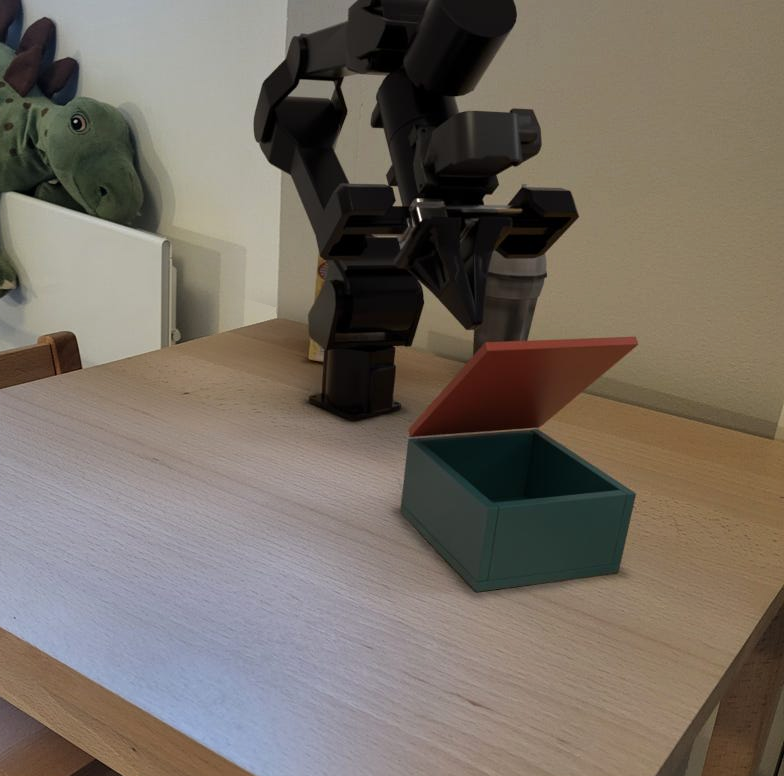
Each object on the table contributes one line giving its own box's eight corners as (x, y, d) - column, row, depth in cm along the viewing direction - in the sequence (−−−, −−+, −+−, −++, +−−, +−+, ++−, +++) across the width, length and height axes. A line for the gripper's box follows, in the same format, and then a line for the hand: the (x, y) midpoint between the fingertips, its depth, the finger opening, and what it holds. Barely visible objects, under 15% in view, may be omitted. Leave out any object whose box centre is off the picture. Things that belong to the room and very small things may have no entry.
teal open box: (618, 573, 59) (636, 493, 57) (475, 592, 56) (488, 508, 54) (525, 499, 69) (538, 428, 67) (399, 512, 66) (407, 438, 63)
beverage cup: (525, 374, 99) (555, 181, 91) (533, 396, 92) (567, 189, 84) (457, 369, 99) (481, 176, 91) (461, 389, 93) (488, 183, 85)
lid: (639, 344, 55) (636, 336, 56) (487, 351, 52) (485, 341, 52) (539, 427, 66) (537, 420, 67) (409, 437, 63) (407, 429, 63)
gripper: (344, 52, 58) (396, 267, 54) (591, 69, 64) (655, 264, 60) (297, 163, 68) (337, 352, 64) (514, 169, 74) (564, 342, 70)
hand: (474, 327), depth 64 cm, fingers closed
